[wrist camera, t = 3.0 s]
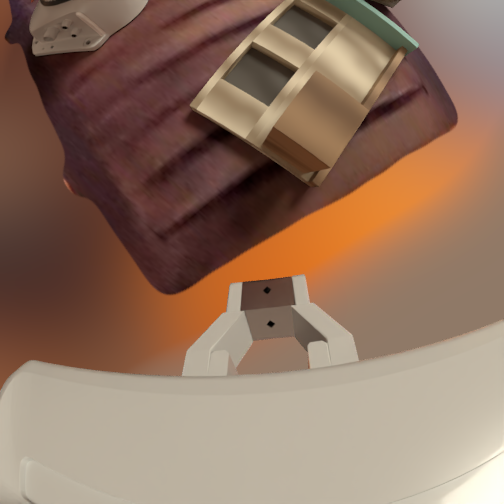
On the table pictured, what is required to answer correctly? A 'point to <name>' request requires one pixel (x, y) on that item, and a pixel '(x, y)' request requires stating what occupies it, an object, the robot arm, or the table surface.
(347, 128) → the walnut block
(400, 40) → the end stop
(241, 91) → the board
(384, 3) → the coffee box
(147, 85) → the table surface
